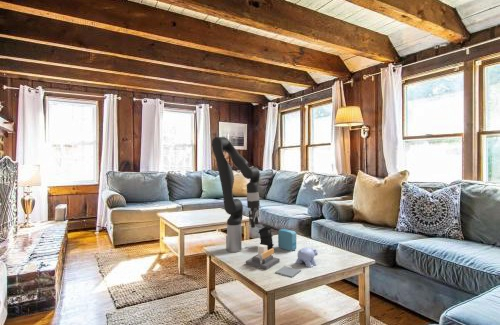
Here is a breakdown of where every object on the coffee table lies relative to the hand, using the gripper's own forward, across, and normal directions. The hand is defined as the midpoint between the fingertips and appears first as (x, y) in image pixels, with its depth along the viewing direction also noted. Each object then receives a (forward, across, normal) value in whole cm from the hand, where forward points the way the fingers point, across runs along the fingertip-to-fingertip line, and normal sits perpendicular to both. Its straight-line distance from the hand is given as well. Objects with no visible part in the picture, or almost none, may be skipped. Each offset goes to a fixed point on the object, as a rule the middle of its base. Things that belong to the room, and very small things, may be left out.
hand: (254, 225), depth 178 cm
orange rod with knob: (+15, +12, +9) cm, 21 cm away
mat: (+20, +20, +22) cm, 36 cm away
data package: (+20, -19, +16) cm, 31 cm away
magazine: (+19, -18, +2) cm, 26 cm away
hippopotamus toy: (+21, +4, +31) cm, 38 cm away
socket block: (+19, +11, +6) cm, 23 cm away
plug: (+17, +11, +6) cm, 21 cm away
